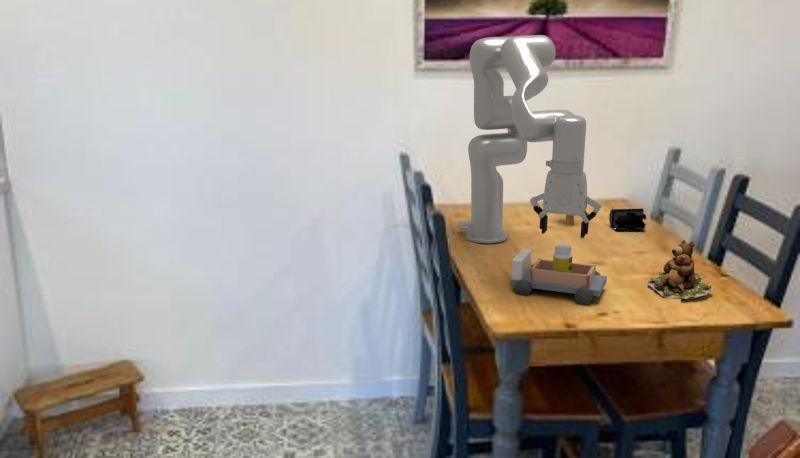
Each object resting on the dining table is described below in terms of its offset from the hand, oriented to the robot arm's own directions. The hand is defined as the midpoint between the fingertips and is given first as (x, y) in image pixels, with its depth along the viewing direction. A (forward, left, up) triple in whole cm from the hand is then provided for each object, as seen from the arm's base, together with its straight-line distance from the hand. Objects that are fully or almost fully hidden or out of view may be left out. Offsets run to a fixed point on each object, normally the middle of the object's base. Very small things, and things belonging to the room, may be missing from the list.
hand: (563, 234), depth 191 cm
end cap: (+8, +60, -15) cm, 63 cm away
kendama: (-10, +57, -15) cm, 60 cm away
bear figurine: (+27, +12, -15) cm, 33 cm away
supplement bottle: (0, 0, -12) cm, 12 cm away
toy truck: (-1, 0, -15) cm, 15 cm away
